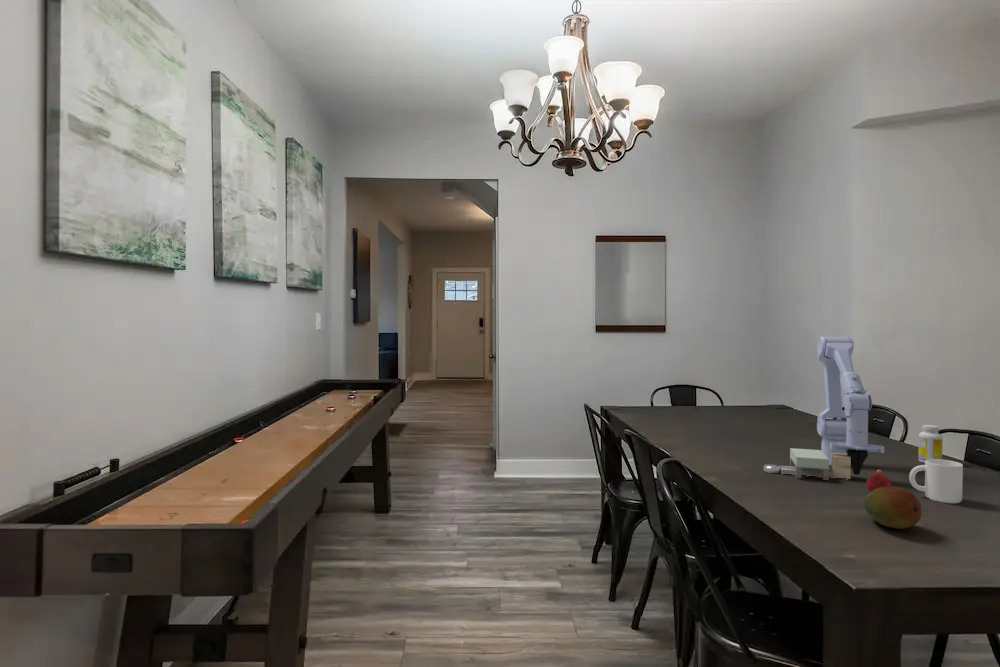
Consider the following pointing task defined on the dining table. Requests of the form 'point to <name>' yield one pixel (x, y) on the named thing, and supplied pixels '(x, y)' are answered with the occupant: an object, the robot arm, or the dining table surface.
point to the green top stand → (809, 461)
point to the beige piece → (838, 469)
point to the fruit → (893, 507)
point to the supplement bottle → (930, 443)
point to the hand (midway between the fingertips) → (856, 473)
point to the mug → (940, 480)
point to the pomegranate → (877, 481)
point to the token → (772, 468)
